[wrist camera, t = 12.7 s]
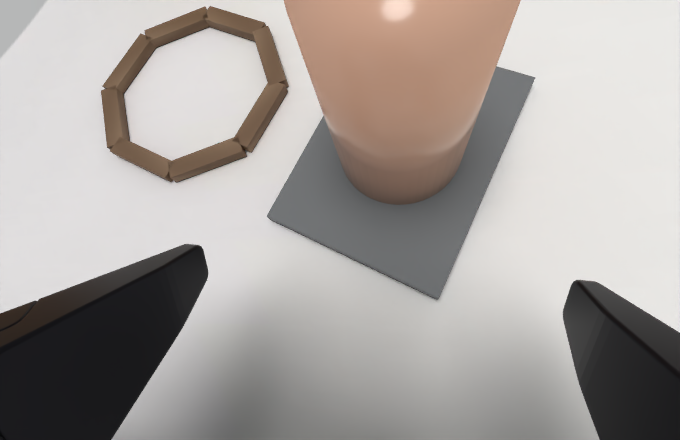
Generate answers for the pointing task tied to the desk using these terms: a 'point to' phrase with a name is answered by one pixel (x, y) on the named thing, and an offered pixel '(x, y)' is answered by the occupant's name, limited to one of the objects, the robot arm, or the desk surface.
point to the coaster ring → (218, 152)
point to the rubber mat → (408, 219)
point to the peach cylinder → (401, 84)
